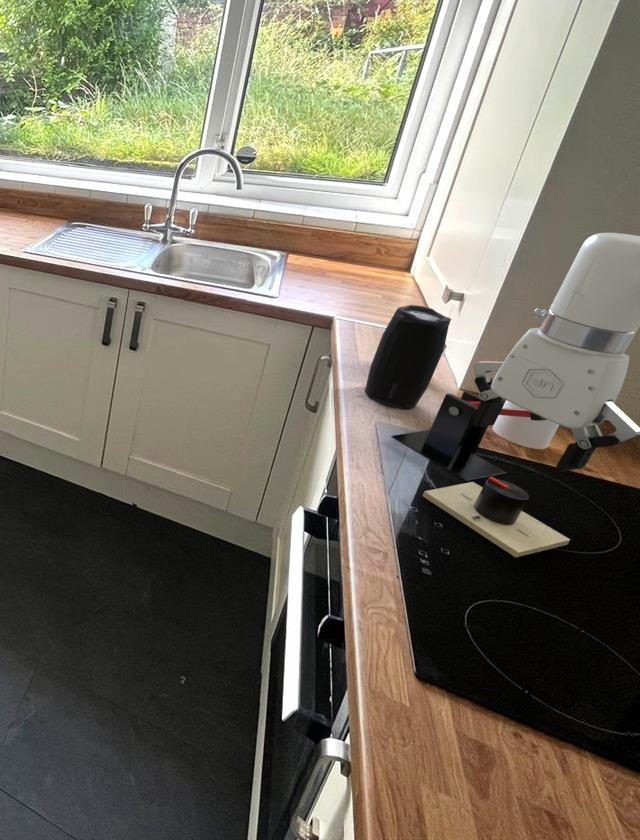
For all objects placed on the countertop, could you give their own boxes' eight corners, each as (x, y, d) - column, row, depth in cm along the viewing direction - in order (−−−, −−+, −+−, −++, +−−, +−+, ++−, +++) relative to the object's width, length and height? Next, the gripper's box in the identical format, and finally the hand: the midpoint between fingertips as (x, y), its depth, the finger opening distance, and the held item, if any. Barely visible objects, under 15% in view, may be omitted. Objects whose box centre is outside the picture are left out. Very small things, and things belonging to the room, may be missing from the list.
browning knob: (523, 522, 81) (538, 495, 79) (500, 527, 80) (515, 500, 78) (487, 501, 85) (501, 474, 83) (465, 505, 84) (479, 479, 82)
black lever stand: (504, 479, 93) (536, 417, 89) (463, 487, 91) (494, 424, 87) (426, 435, 104) (452, 378, 99) (388, 441, 102) (412, 383, 97)
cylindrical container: (537, 438, 104) (605, 311, 95) (551, 459, 99) (624, 326, 89) (485, 425, 108) (545, 301, 98) (495, 444, 102) (560, 315, 92)
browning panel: (563, 550, 79) (571, 538, 78) (511, 563, 77) (518, 551, 76) (467, 491, 90) (473, 480, 89) (419, 501, 88) (424, 490, 87)
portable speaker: (375, 387, 119) (409, 300, 112) (427, 411, 111) (467, 319, 104) (349, 395, 116) (383, 305, 109) (400, 420, 108) (441, 325, 101)
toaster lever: (565, 421, 84) (562, 404, 84) (541, 425, 83) (538, 408, 83) (469, 414, 96) (467, 399, 96) (447, 417, 94) (445, 402, 94)
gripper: (484, 307, 79) (435, 413, 86) (661, 369, 64) (584, 493, 70) (523, 304, 81) (472, 408, 87) (703, 364, 65) (625, 484, 72)
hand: (522, 445), depth 79 cm, fingers open, 9 cm apart
